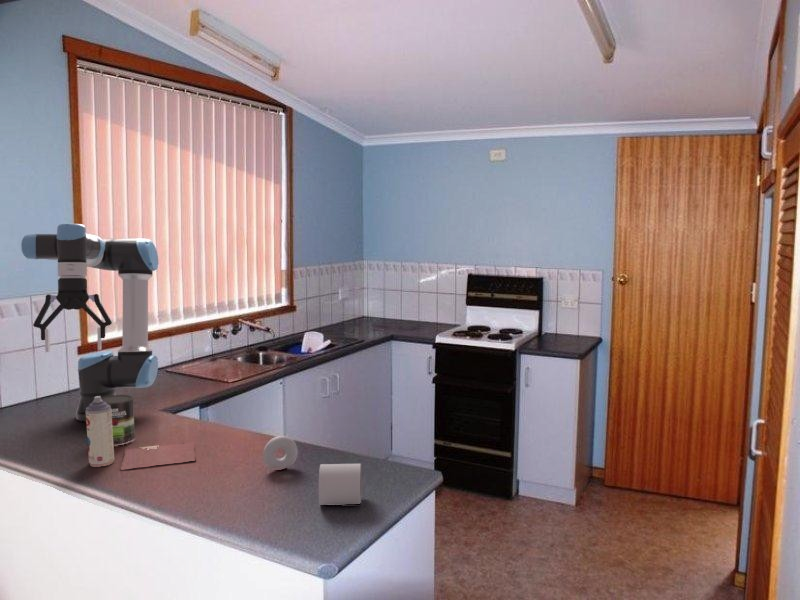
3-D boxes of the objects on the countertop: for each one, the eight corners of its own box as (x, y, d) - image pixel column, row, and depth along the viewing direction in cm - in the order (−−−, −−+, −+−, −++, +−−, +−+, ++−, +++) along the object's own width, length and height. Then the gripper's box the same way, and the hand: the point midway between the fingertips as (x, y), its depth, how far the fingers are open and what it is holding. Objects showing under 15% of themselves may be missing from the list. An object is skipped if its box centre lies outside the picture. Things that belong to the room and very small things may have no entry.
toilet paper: (361, 494, 169) (361, 457, 168) (360, 512, 159) (359, 472, 158) (322, 495, 168) (321, 458, 167) (319, 512, 159) (318, 473, 157)
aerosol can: (90, 460, 194) (86, 394, 191) (115, 457, 196) (111, 392, 193) (87, 468, 187) (82, 401, 185) (113, 465, 189) (108, 398, 187)
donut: (296, 465, 189) (295, 431, 188) (299, 469, 186) (298, 435, 185) (262, 471, 185) (260, 437, 184) (265, 475, 182) (264, 440, 181)
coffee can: (133, 445, 207) (131, 401, 205) (98, 448, 204) (95, 404, 202) (137, 434, 217) (135, 393, 215) (103, 437, 214) (101, 395, 212)
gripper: (20, 277, 181) (22, 353, 182) (118, 277, 190) (119, 350, 190) (26, 277, 188) (27, 351, 189) (120, 277, 197) (121, 347, 197)
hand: (74, 350), depth 189 cm, fingers open, 13 cm apart
